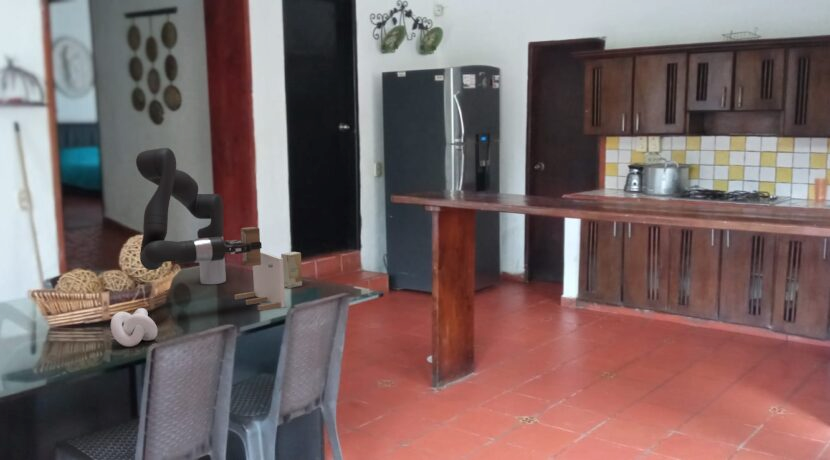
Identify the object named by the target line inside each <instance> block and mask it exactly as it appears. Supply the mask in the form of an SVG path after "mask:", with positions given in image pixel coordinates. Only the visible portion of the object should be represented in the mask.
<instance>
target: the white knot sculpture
mask: <svg viewBox="0 0 830 460" xmlns="http://www.w3.org/2000/svg"><path fill="white" fill-rule="evenodd" d="M148 315H149V313H148V310H147V309H146V308H143V307H141V308H140V307H139V308H137V309H135V312H133V313H132V314H131V313H129V312H126V311H119V312H117V313H115V314H114V315H112V317H111V321H110V331H111V335H112V336H113V337H114V339H115V340H116V341H117V342H118V344H120V345H121V346H123V347H126V348H131V347H135V346H137V345H138V344H139V343H140V342H141V341H142V340H143V341H146V342H148V341H149V342H150V341H153V340H155V338H157V336H158V332H159V331H158V326H157V325H156V322H155V321H154V320H153V319H152V318H151V317H150V316H148Z"/></svg>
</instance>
